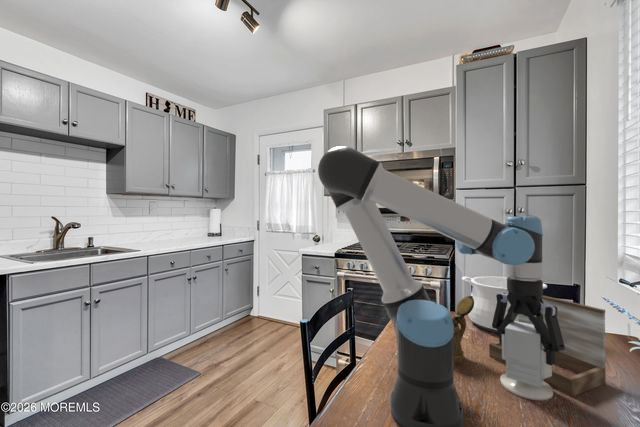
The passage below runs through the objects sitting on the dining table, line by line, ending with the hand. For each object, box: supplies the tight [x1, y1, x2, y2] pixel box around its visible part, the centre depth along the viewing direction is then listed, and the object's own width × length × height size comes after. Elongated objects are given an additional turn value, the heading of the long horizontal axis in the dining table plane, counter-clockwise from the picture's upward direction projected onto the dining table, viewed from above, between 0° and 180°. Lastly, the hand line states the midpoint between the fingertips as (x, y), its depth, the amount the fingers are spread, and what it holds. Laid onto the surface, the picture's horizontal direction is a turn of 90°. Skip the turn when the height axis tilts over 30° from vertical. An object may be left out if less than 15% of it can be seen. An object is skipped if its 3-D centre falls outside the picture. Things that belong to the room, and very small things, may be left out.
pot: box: [461, 275, 548, 334], centre depth 118 cm, size 28×24×17 cm
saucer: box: [499, 372, 554, 402], centre depth 77 cm, size 11×11×1 cm
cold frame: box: [488, 295, 607, 397], centre depth 85 cm, size 14×22×19 cm, turn 22°
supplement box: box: [505, 321, 544, 388], centre depth 77 cm, size 7×7×13 cm
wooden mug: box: [452, 295, 474, 364], centre depth 94 cm, size 9×14×18 cm, turn 102°
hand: (525, 366), depth 77 cm, fingers closed on supplement box, 9 cm apart
